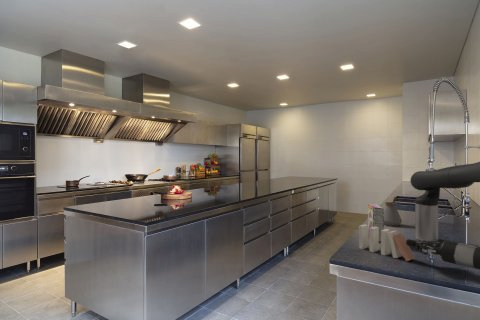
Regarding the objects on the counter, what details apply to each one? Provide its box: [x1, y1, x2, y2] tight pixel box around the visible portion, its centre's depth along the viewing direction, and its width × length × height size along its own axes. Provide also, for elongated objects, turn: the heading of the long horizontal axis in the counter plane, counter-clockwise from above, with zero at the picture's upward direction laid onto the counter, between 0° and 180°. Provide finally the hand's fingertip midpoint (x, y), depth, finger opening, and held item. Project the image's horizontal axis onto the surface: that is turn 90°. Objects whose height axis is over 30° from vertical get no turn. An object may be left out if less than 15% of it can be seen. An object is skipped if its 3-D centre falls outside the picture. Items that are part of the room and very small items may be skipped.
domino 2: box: [369, 227, 380, 253], centre depth 125 cm, size 4×2×10 cm, turn 125°
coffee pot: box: [383, 196, 403, 227], centre depth 176 cm, size 21×12×15 cm, turn 143°
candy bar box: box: [367, 203, 385, 243], centre depth 143 cm, size 11×5×16 cm, turn 168°
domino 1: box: [358, 223, 369, 250], centre depth 129 cm, size 4×2×10 cm, turn 125°
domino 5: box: [393, 232, 416, 262], centre depth 115 cm, size 4×2×10 cm
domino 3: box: [380, 228, 391, 256], centre depth 121 cm, size 4×2×10 cm, turn 125°
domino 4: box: [388, 230, 403, 259], centre depth 118 cm, size 4×2×10 cm, turn 125°
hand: (407, 242), depth 114 cm, fingers closed
